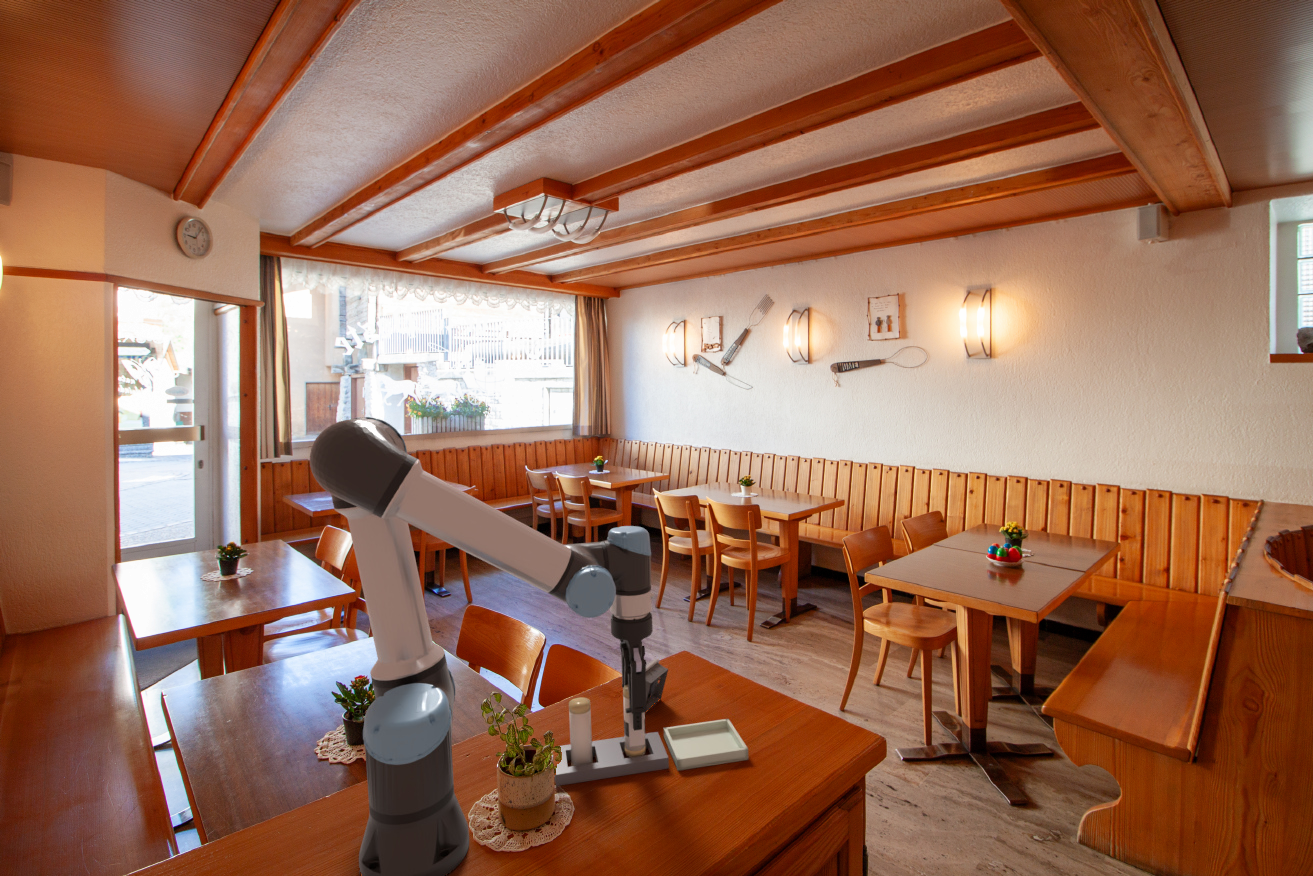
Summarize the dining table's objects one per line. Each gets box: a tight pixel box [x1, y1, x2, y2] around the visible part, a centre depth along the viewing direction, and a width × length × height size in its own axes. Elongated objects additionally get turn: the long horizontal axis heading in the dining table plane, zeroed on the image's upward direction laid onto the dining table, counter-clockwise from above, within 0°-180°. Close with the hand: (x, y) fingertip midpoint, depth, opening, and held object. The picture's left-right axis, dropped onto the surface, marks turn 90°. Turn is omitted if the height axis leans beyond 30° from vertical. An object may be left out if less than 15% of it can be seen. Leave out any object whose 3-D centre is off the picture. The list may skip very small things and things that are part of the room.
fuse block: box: [554, 731, 670, 787], centre depth 116 cm, size 20×9×2 cm, turn 102°
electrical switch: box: [646, 657, 669, 712], centre depth 136 cm, size 9×5×9 cm, turn 151°
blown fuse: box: [622, 685, 647, 758], centre depth 117 cm, size 4×4×12 cm
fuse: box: [568, 697, 594, 767], centre depth 115 cm, size 4×4×12 cm
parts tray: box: [663, 718, 749, 772], centre depth 120 cm, size 13×11×2 cm
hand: (634, 737), depth 117 cm, fingers closed on blown fuse, 4 cm apart
